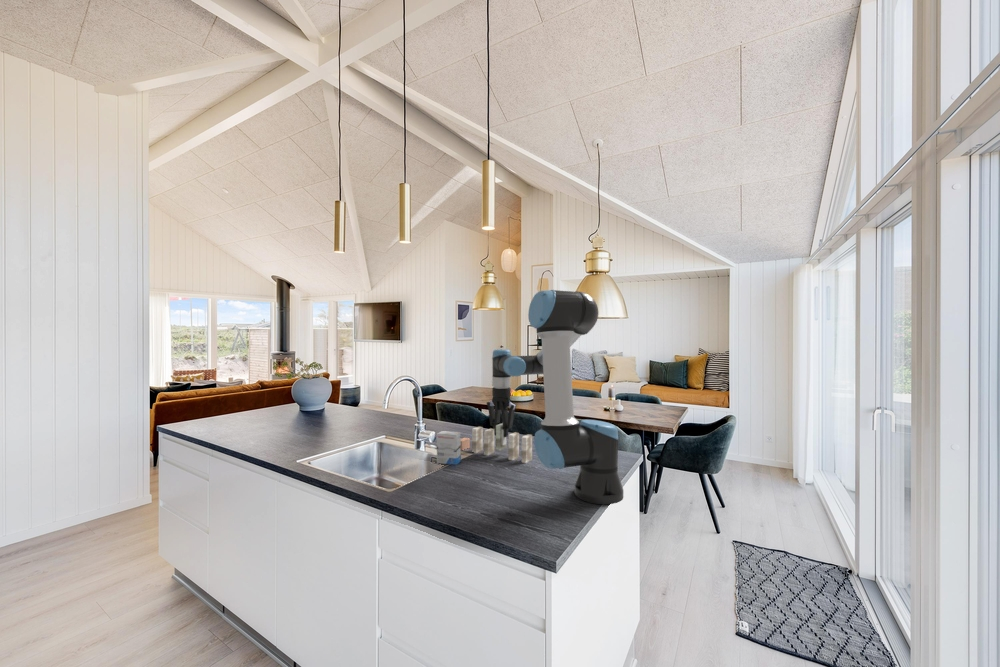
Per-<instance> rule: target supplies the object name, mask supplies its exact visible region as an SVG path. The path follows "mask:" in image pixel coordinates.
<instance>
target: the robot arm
mask: <svg viewBox="0 0 1000 667" xmlns="http://www.w3.org/2000/svg"><path fill="white" fill-rule="evenodd" d="M527 315H528V322H529V325H530V326H531V327H532V328H534V329H536V336H538V338H540V340H541V349H540V350H539V351H538V353H537V354H535V355H512V353H511V350H510V349H507V348H505V349H503V348H502V349H501V348H499V349H497V348H496V349H494V350H493V351H492V357H491V361H492V362H491V363H492V367H491V368H492V376H491V378H492V381H491V382H492V384H491V386H492V388H491V390H492V391H491V396H492V399H491V400H490V401H487V402H486V405H487V408H488V409H487V410H488V417H489V425H490V426H492V427H493V429H494V436H496V425H498V424H501V417H502V423H503V428H502V435H501V445H505V444H506V445H507V437H509V429H511V428H512V427H513V426H514V425H513V424H514V418H515V411H516V408H517V404H516V403H515V404H514V403H512V400H511V395H512V394H511V391H512V390H511V386H512V385H511V384H512V382H511V380H512V379H511V377H520V376H525V375H527V376H529V375H543V391H544V392H543V393H544V394H543V395H544V410H545V411H544V414H545V417H544V419H543V420H542V421H541V422H540V429H538V430H537V431H536V432H535V433H534V437H533V440H534V441H533V444H534V450H535V453H536V456H537V458H538V460H539V461H540V463H541V465H543V466H544V467H545V468H546V469H549V470H556V469H557V470H562V469H564V468H565V469H567V468H572V467H579V471H578V473H577V474H578V475H577V477H576V479H575V483H574V491H573V492H574V496H575V497H577V498H578V499H580V500H582V501H584V502H587V503H591V504H595V505H596V504H597V505H613V504H618V503H620V502H621V501H623V500H624V487H623V485H622V481H621V478H620V475H619V430H618V427H617V426H616V425H614V424H612V423H610V422H606V421H602V420H596V419H581V420H580V421H579V420H578V419H577V418H576V417H575V415H574V414H575V412H574V397H573V396H574V395H573V378H572V375H573V374H572V360H571V359H572V358H571V347H572V346H573V345H574V344H575V343H576V342H577V341H578V340H579V338H581V336H585V335H587V334H589V333H590V331H592V330H593V328H594V326H595V325H596V324H597V322H598V318H599V307H598V304H597V302H596V301H595V299H594V298H593V297H592V296H591V295H590V294H588V293H586V292H583V291H576V290H575V291H569V290H558V289H557V290H555V289H549V290H539V291H538V292H536V293H535V294H534V295H533V296H532V299H531V301H530V303H529V306H528V314H527Z"/></svg>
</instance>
